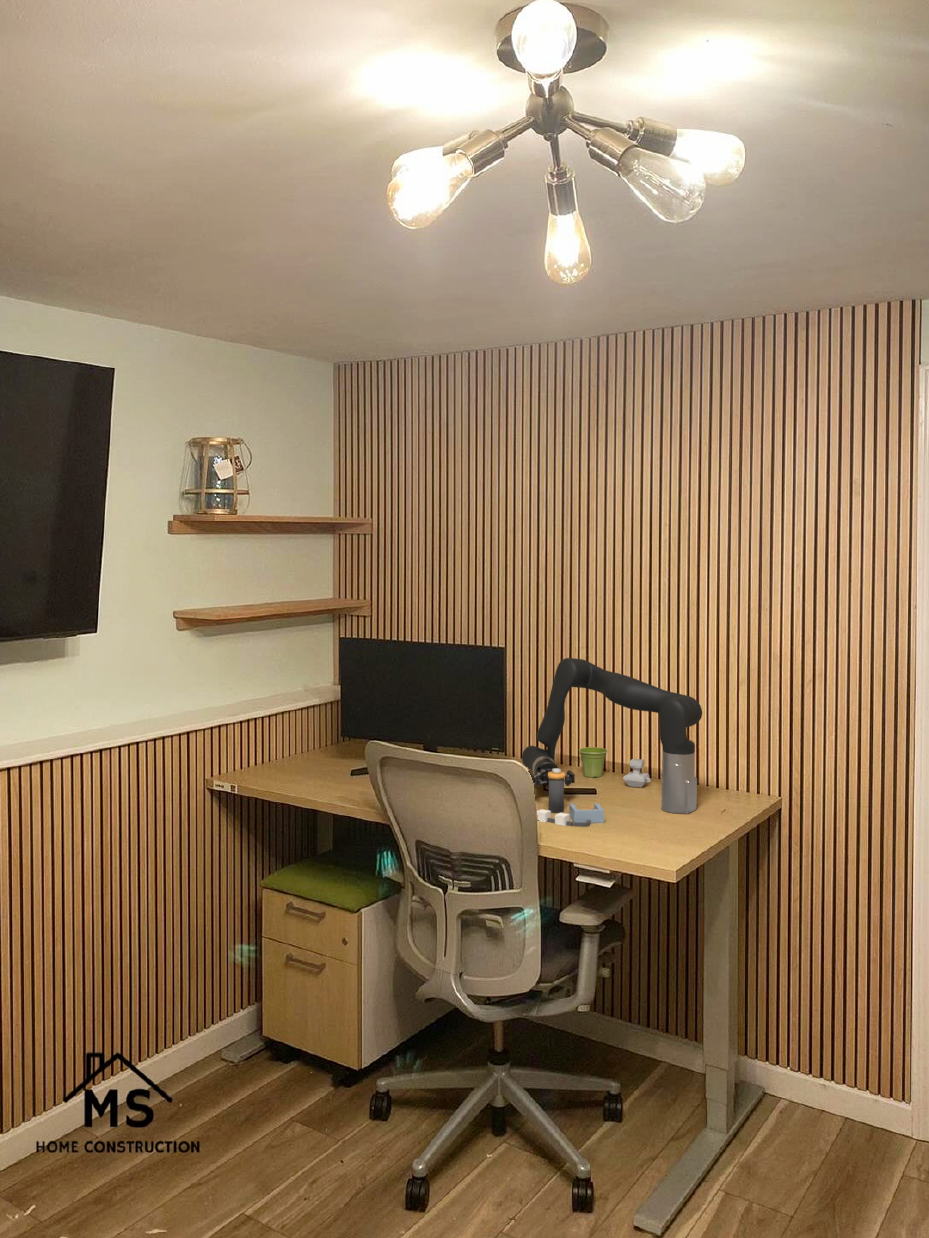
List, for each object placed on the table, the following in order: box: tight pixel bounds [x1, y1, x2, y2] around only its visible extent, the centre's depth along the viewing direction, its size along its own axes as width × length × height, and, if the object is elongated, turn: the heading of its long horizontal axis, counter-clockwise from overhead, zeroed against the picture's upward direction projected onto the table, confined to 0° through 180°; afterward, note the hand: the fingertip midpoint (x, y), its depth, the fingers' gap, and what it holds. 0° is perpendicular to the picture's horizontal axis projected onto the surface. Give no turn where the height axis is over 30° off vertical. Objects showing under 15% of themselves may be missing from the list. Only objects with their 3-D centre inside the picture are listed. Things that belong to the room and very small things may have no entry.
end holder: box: [568, 802, 605, 824], centre depth 286 cm, size 8×8×4 cm
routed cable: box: [536, 808, 592, 827], centre depth 282 cm, size 15×7×3 cm, turn 54°
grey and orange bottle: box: [548, 767, 566, 814], centre depth 293 cm, size 5×5×12 cm
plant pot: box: [578, 746, 608, 778], centre depth 336 cm, size 9×9×9 cm
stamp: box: [622, 758, 651, 788], centre depth 322 cm, size 9×7×8 cm
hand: (553, 782), depth 298 cm, fingers open, 8 cm apart
